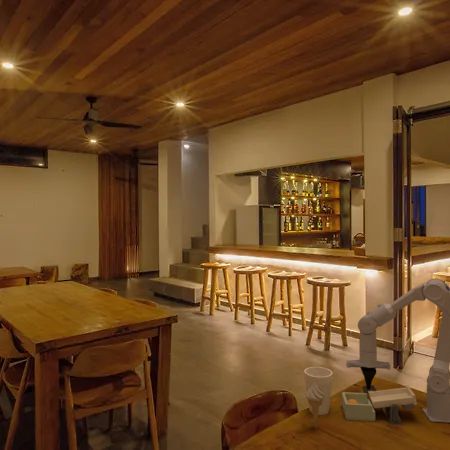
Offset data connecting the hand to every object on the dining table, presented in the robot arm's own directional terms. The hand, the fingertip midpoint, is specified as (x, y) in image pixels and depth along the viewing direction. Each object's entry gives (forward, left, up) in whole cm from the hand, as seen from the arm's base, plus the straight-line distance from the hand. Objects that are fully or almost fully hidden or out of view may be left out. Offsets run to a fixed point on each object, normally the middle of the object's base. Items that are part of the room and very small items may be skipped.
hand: (368, 388), depth 138 cm
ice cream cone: (+20, +21, -5) cm, 29 cm away
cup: (+5, +10, -5) cm, 12 cm away
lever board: (-6, +6, -2) cm, 8 cm away
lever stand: (-5, +10, -5) cm, 12 cm away
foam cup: (+18, +9, -5) cm, 20 cm away
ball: (+7, +10, -2) cm, 12 cm away
